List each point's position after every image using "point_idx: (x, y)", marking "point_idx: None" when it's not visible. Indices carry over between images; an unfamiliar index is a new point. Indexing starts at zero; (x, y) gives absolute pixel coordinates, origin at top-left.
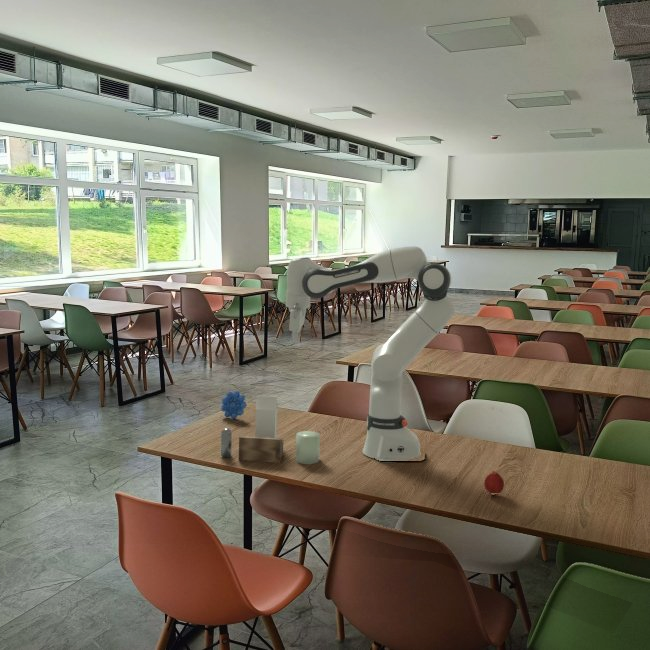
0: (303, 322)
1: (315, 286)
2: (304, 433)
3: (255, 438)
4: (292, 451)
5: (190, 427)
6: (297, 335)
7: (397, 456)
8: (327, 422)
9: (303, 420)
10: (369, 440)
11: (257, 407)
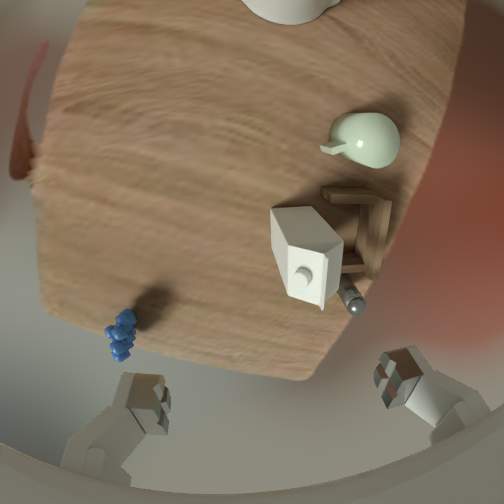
0: (29, 483)
1: None
2: (370, 149)
3: (383, 250)
4: (308, 168)
5: (205, 362)
6: (457, 383)
7: None
8: (84, 124)
9: (85, 181)
10: (316, 4)
11: (336, 288)
